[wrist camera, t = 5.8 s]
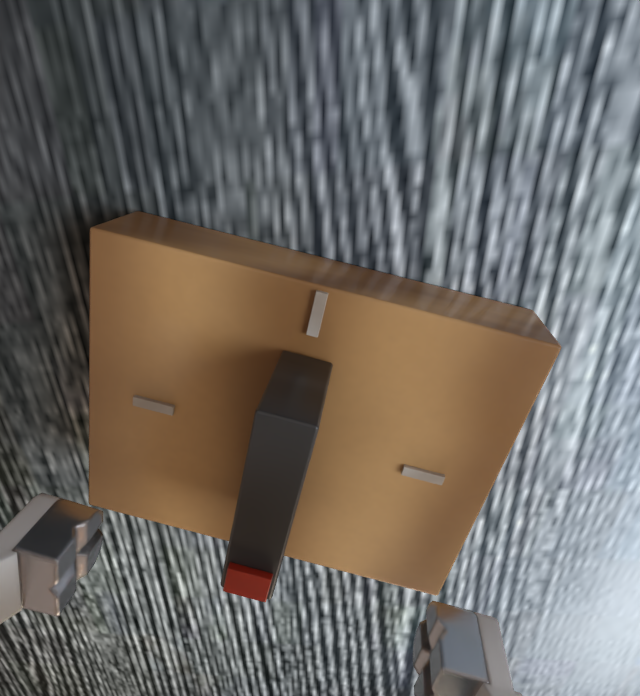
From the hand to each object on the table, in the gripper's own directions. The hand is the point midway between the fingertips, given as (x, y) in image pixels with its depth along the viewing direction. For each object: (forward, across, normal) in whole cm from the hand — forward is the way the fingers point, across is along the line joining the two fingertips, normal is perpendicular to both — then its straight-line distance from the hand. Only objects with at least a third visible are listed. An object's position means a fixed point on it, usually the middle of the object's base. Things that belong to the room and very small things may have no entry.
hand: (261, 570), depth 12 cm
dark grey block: (+5, 0, 0) cm, 5 cm away
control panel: (+8, 0, 0) cm, 8 cm away
